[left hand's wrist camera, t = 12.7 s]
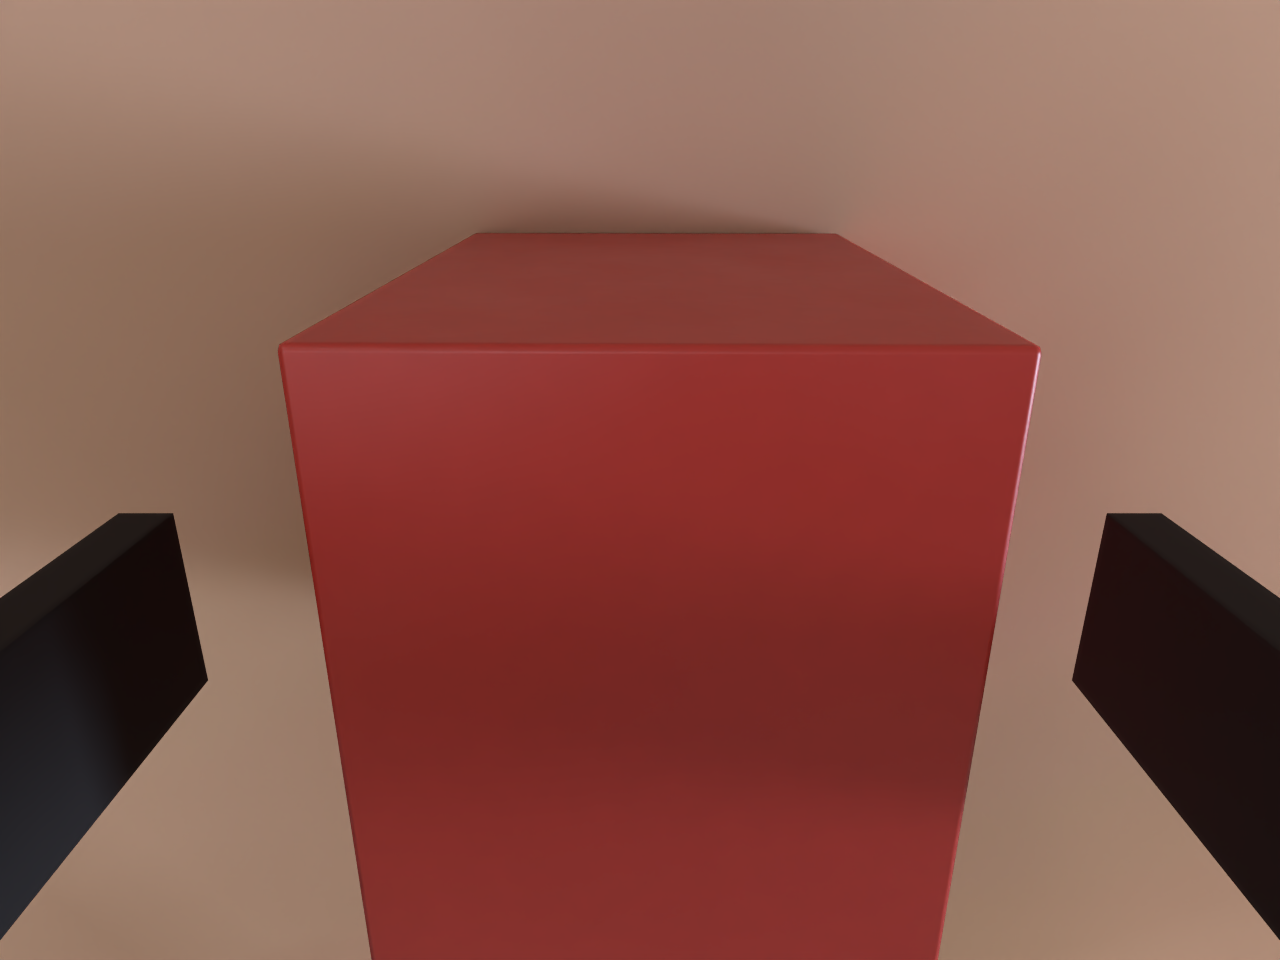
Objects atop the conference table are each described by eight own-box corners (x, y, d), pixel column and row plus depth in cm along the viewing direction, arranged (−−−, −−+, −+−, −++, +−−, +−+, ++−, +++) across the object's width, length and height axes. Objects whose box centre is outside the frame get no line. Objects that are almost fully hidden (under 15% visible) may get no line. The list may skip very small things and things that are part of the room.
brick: (839, 233, 17) (1046, 346, 8) (809, 608, 20) (934, 994, 11) (473, 232, 17) (272, 343, 8) (498, 606, 20) (372, 987, 11)
